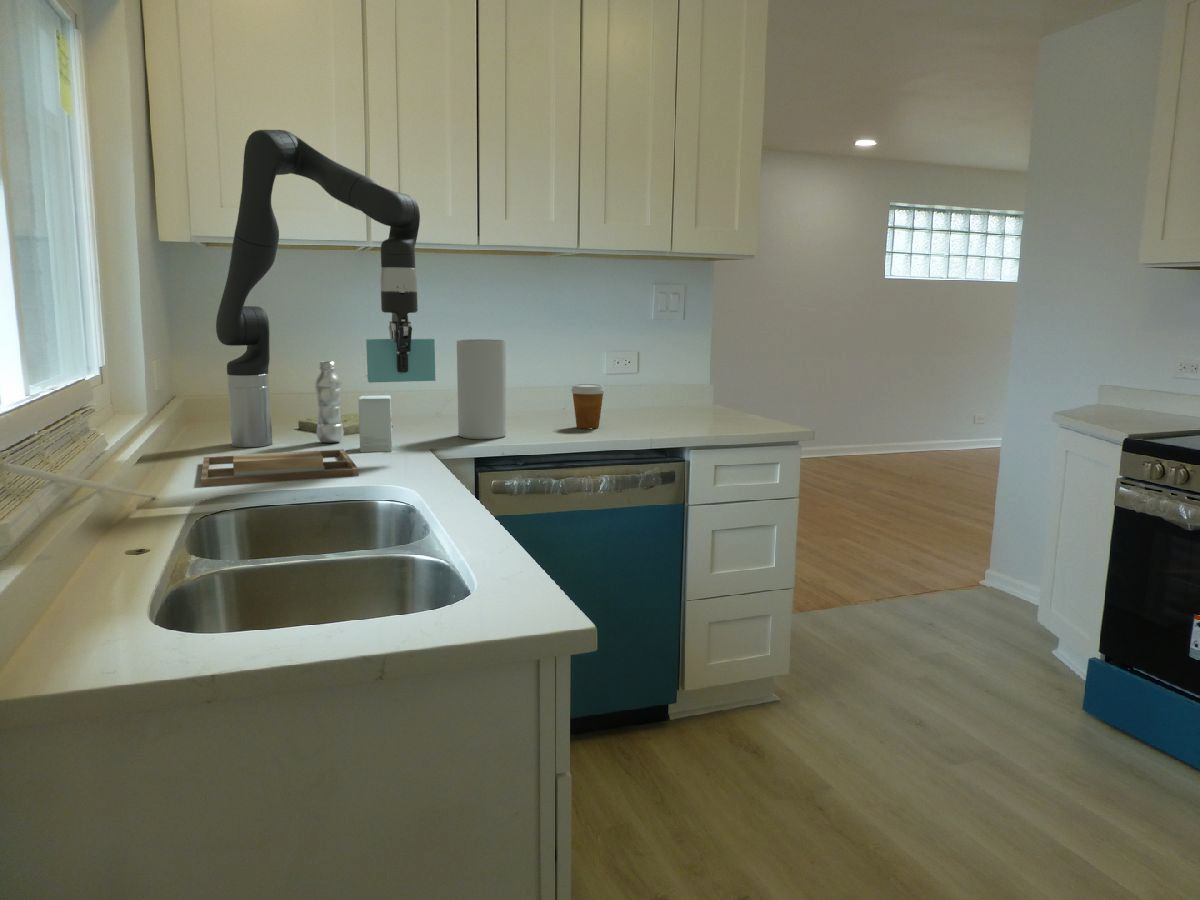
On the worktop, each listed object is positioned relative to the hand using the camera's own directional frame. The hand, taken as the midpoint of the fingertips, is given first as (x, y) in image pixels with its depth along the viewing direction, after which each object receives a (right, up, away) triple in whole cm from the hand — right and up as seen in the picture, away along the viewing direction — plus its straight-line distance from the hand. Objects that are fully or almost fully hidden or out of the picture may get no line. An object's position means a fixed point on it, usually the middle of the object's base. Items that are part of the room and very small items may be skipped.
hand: (401, 371), depth 184 cm
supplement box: (-10, -17, +20) cm, 28 cm away
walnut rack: (-22, -22, -10) cm, 33 cm away
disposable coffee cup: (+39, -11, +58) cm, 71 cm away
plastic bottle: (-24, -15, +29) cm, 41 cm away
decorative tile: (-27, -12, +52) cm, 60 cm away
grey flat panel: (-20, -22, -18) cm, 34 cm away
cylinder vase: (+12, -14, +41) cm, 45 cm away
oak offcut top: (-20, -20, -18) cm, 33 cm away
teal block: (0, -2, 0) cm, 2 cm away
